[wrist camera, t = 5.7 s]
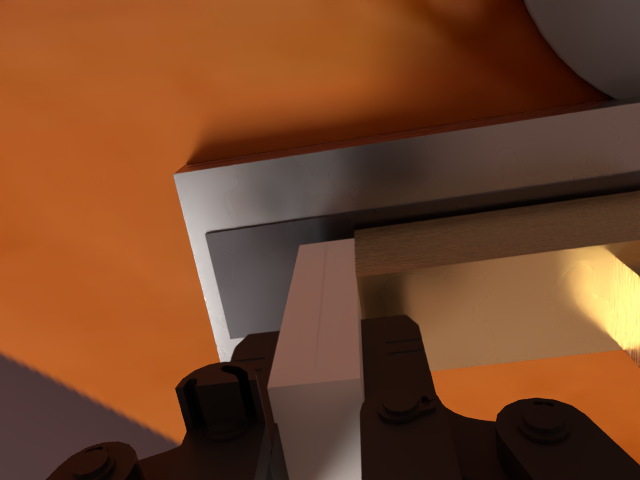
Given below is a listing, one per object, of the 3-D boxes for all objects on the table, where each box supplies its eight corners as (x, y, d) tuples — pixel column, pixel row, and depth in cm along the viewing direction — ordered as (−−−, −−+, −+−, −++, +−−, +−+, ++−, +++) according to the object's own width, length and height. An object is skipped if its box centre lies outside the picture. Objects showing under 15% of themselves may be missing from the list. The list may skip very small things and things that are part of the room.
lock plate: (184, 165, 17) (172, 175, 15) (721, 81, 15) (754, 85, 14) (234, 368, 19) (227, 391, 18) (705, 313, 18) (732, 333, 16)
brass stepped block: (354, 230, 15) (356, 319, 11) (660, 187, 15) (815, 263, 10) (366, 315, 16) (375, 434, 11) (656, 279, 16) (798, 390, 11)
